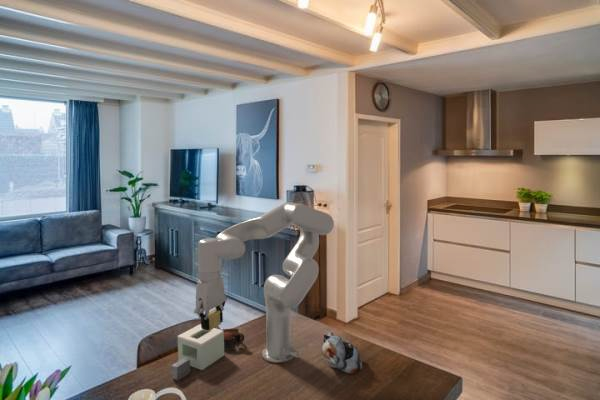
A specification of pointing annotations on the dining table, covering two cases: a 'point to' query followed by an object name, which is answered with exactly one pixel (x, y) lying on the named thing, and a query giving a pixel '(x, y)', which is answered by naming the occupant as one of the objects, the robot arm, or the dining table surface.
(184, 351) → the cream slotted box
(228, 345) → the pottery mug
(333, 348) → the lucky cat figurine
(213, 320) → the block
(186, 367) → the block
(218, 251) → the robot arm
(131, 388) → the dining table surface
